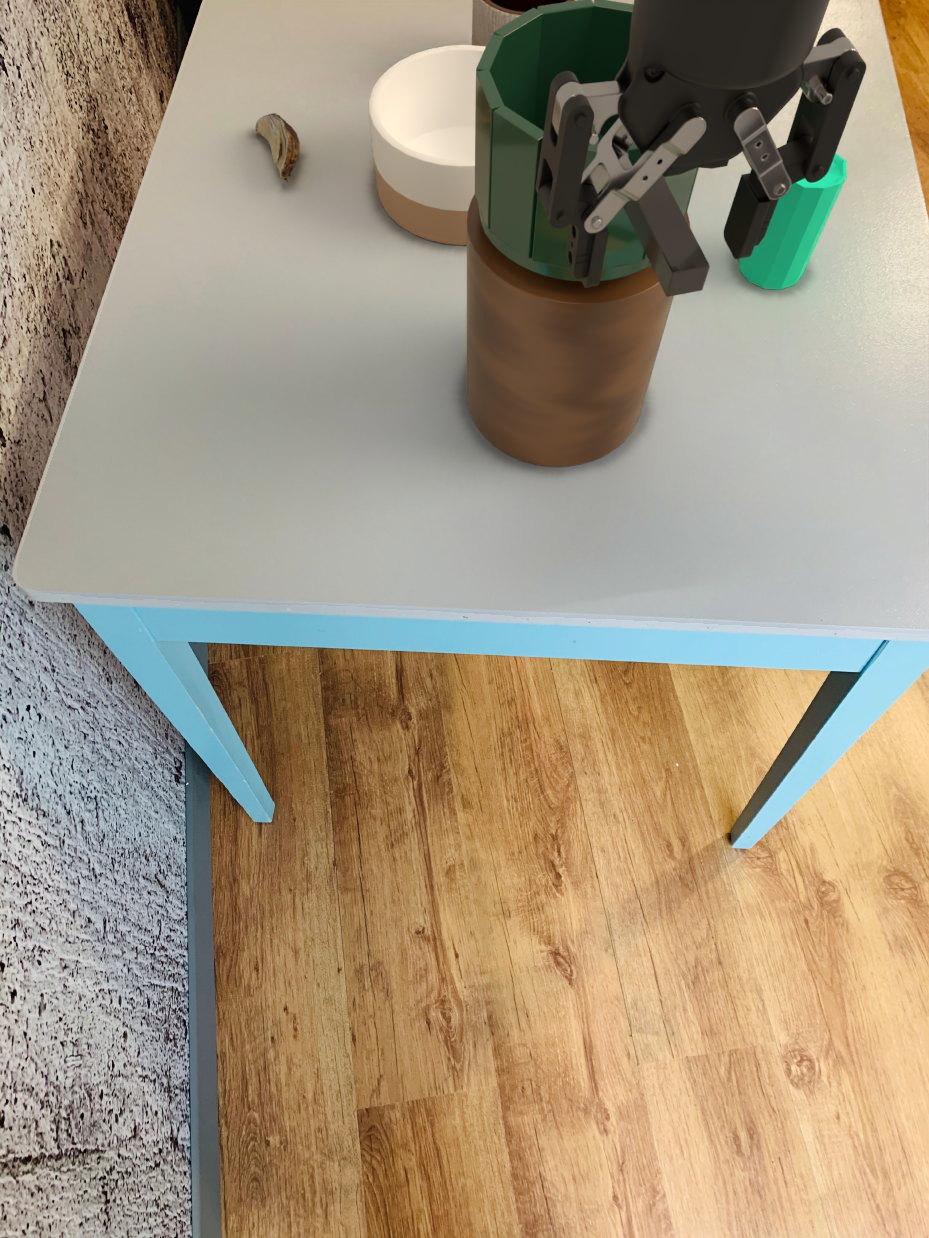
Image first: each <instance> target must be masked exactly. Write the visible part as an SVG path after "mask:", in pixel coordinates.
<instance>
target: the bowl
mask: <svg viewBox="0 0 929 1238" xmlns="http://www.w3.org/2000/svg"><path fill="white" fill-rule="evenodd" d="M485 48H486V47H485V46H474V45H472V44H459V45H458V44H457V45H454V44H453V45H444V46H438V47H433V48H432V47H431V48H429V49H425V50H422V51H419V52H416V53H413V54H411V55H409V56H407V57H404V58H402V59H401V60H399V61H398V62H396V63H394V64H393V65H392V66H390V67H389V68H388V69H386V71H384V73H383V74H382V75H381V76H380V77H379V78H378V79H377V81H376V82H375V85H374V86H373V88H372V89H371V92H370V93H371V94H370V97H369V101H368V118H369V127H370V137H371V145H372V155H373V162H374V171H375V180H376V189H377V195H378V197H379V201H380V204H381V205H382V208H383V209H384V210H385V212H386V214H387V215H388V217H390V218H391V220H393V221H394V222H395V223H396V224H397V225H398V226H400V227H401V228H403V229H404V230H406V231H408V232H409V233H411V234H413V235H415V236H418V237H420V238H422V239H425V240H427V241H431V242H434V243H435V242H436V243H440V244H445V245H454V246H455V245H456V246H457V245H458V246H467V215H468V209H469V206H470V202H471V200H472V198H473V196H474V194H475V109H476V68H477V66H478V63H479V61H480V59H481V57H482V54H483V52H484V50H485Z"/></svg>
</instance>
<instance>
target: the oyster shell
mask: <svg viewBox="0 0 929 1238" xmlns="http://www.w3.org/2000/svg"><path fill="white" fill-rule="evenodd" d="M254 133H255V134H256V135H258V136H262V137H263V138H264V139H265V140H266V141H267V142H268V143H269V147H270V150H271V156H272V159H273V163H274V164H275V165H276V167H277V169H278V171H279V178H280V179H281V180H284V181H285V182H286V183H287V184H288V183H289V179H288V177H291V173H292V172H293V170H294V169H295V167H296V165H297V162H298V161H299V158H300V157H299V156H300V151H301V146H300V138H299V136H298V133H297V131H296V130H295V129H294V128H293V127H292V126H291V124H289V123H288V122H287V121H286V120H285V119H284V118H283V117H281V115H279V114H277V113H275V112H274V113H269V114H266V115H263V116H260V117H259V119H257V121H256V122H255V130H254Z"/></svg>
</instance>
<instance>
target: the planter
mask: <svg viewBox="0 0 929 1238" xmlns="http://www.w3.org/2000/svg"><path fill="white" fill-rule="evenodd" d="M571 1H578V0H472V13H471V14H472V17H471V45H474V46H485V47H486V45H487V43H488V41H489V39H490V36H491V35H492V34H494V31H495V30H497V29H499V28H500V27H502V26H504V25H505V24H507V23H509V22H510V21H512V20H514V19H515V18H517V17H519V16H520V15H522V14H524V13H525V12H527V11H529V10H530V9H532V8H535V9H537V8H538V7H539V6H545V5H552V4H558V3H565V2H571Z"/></svg>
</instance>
